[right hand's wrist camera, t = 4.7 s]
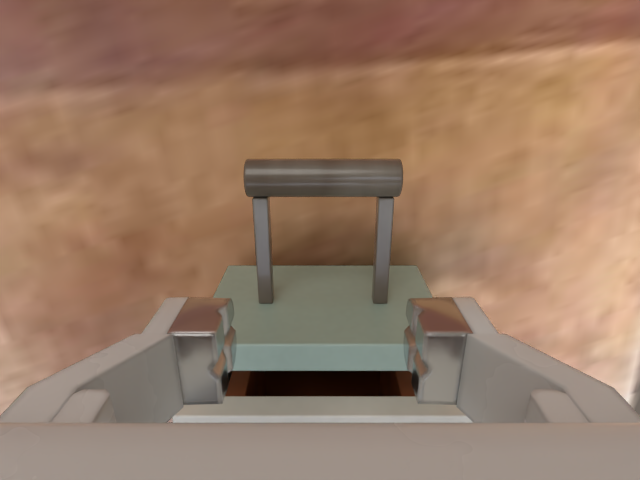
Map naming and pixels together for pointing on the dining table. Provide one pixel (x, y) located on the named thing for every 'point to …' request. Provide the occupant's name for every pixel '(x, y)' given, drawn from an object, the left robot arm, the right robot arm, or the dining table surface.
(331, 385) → the drawer
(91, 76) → the dining table surface
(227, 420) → the white open box
